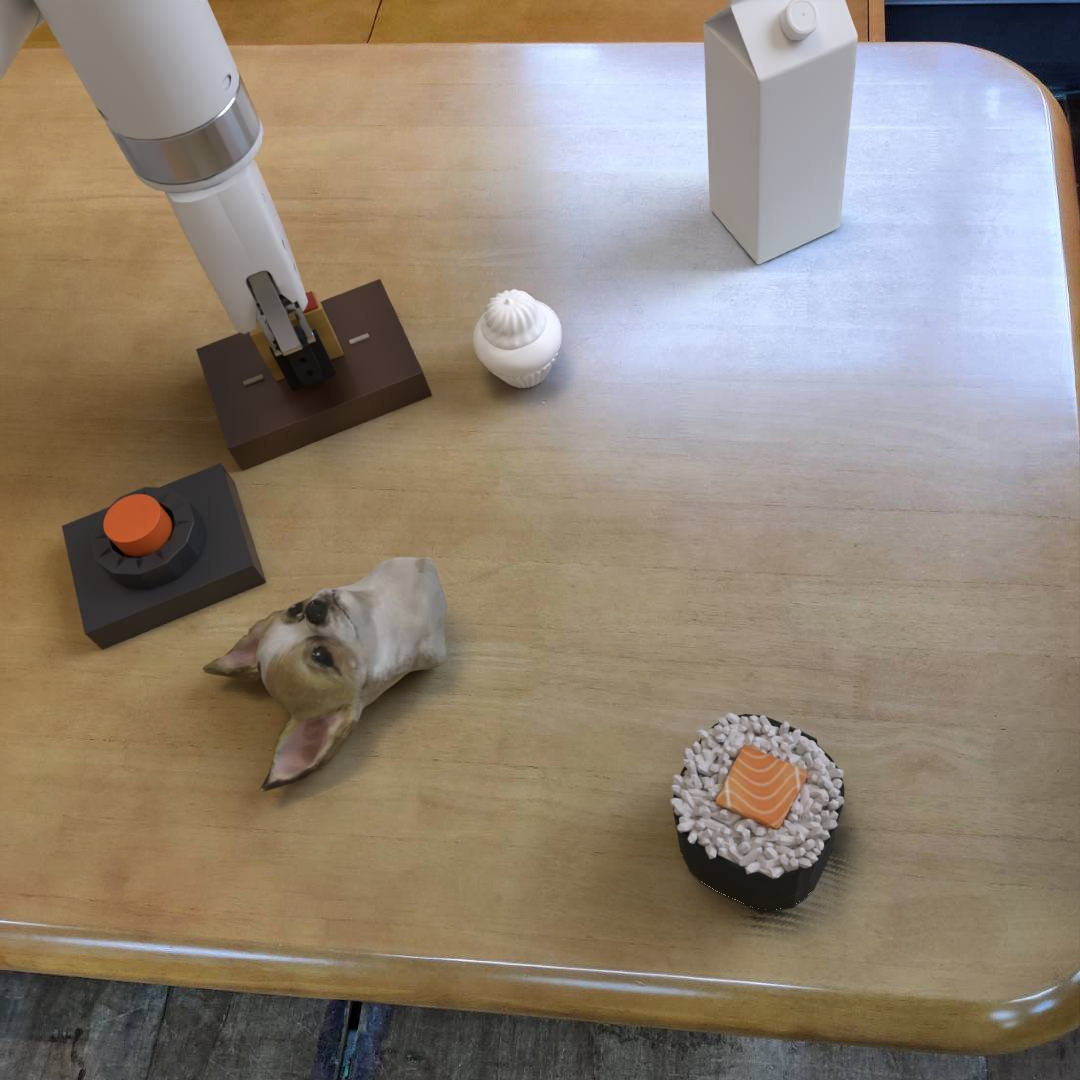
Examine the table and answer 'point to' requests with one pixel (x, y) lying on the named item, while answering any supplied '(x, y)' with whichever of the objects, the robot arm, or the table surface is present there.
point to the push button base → (164, 560)
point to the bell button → (138, 525)
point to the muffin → (518, 338)
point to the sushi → (757, 810)
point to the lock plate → (326, 407)
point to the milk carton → (778, 119)
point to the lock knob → (314, 318)
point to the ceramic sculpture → (340, 657)
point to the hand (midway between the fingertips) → (302, 351)
